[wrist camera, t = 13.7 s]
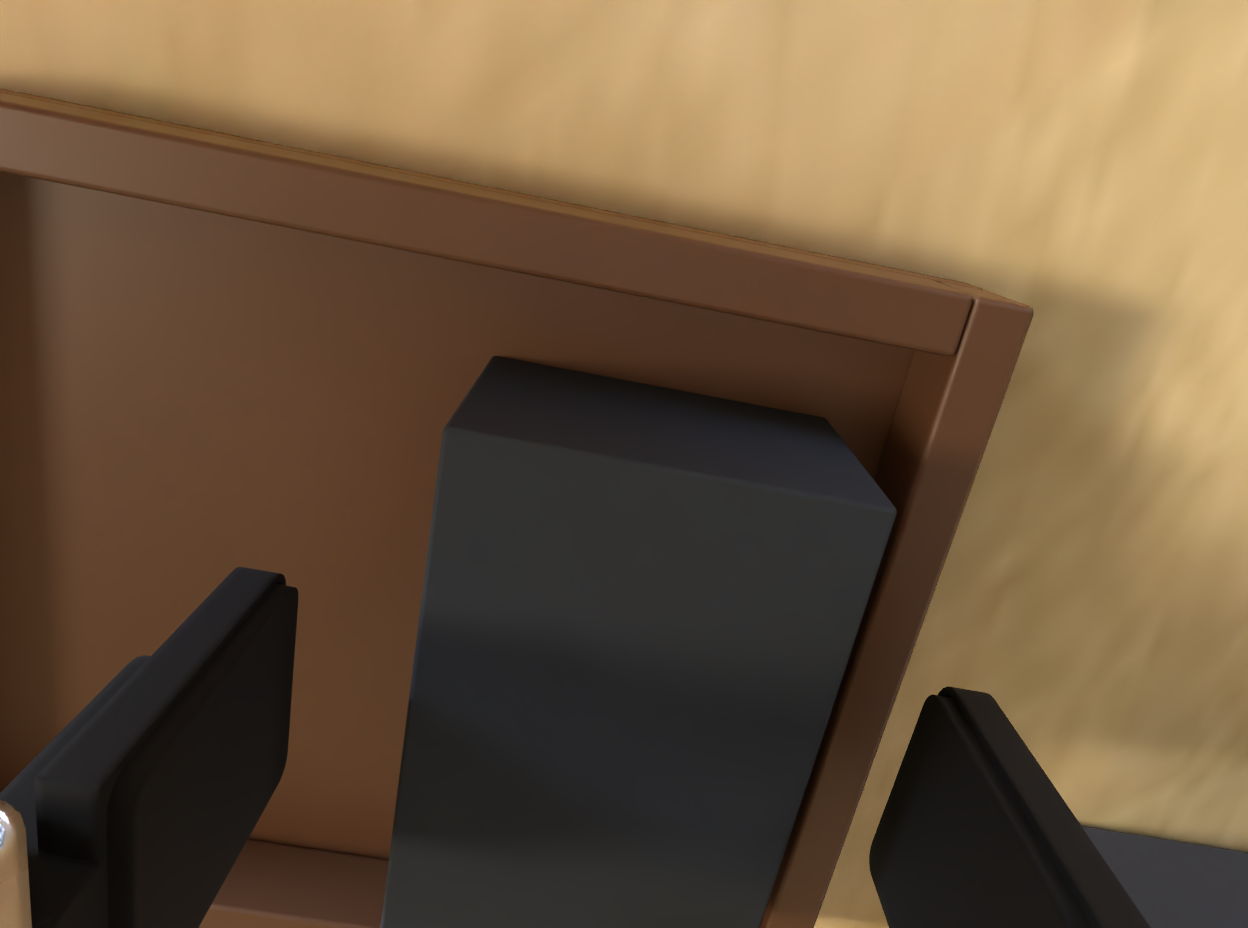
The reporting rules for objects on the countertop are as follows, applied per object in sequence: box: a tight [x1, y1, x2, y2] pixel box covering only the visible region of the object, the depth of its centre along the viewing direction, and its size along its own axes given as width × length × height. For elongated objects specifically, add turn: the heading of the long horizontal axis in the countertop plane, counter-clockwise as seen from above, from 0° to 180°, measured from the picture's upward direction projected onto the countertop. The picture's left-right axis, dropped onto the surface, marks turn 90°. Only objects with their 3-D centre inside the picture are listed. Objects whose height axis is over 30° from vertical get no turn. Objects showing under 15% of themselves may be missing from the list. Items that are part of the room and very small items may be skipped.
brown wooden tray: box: [0, 89, 1033, 928], centre depth 13 cm, size 16×13×2 cm
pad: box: [380, 356, 897, 928], centre depth 12 cm, size 5×8×4 cm, turn 169°
